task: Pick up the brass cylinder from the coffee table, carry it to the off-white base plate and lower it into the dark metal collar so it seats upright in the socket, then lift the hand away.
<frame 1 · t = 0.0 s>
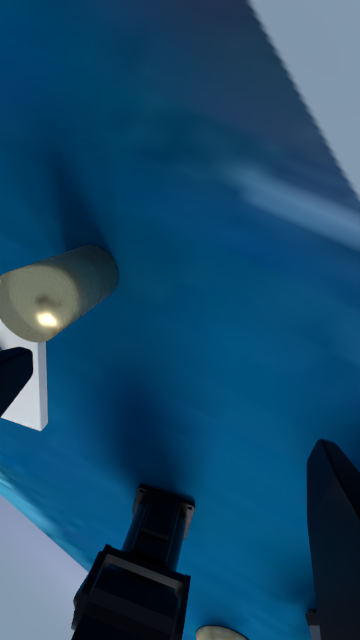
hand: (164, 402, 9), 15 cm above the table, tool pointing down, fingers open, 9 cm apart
brass cylinder: (93, 272, 25), on the table
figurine: (320, 628, 37), on the table
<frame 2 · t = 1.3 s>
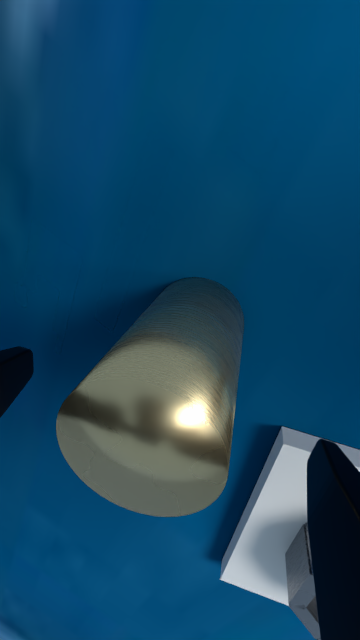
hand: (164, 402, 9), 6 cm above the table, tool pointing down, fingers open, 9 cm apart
socket base: (357, 541, 18), on the table
brass cylinder: (197, 322, 15), on the table
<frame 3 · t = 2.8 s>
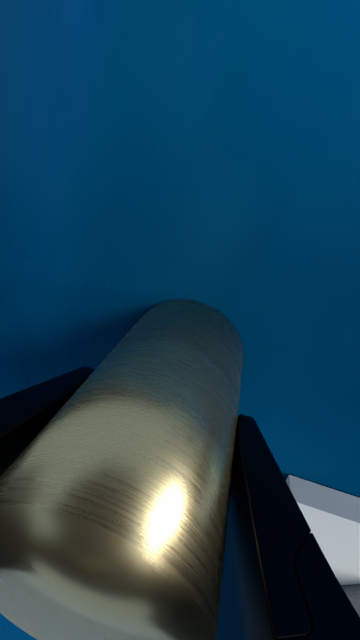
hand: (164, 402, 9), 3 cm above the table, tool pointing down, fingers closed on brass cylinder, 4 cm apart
brass cylinder: (185, 352, 12), on the table, touching gripper
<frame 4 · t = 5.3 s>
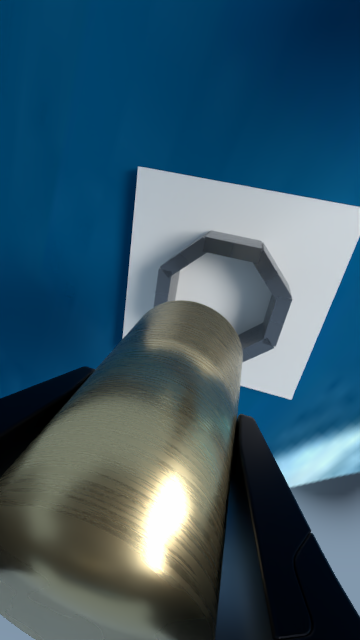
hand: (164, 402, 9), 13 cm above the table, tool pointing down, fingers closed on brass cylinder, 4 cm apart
socket base: (224, 288, 21), on the table
socket collar: (220, 300, 19), on the socket base, point 2 cm above the table
brass cylinder: (185, 353, 12), point 10 cm above the table, touching gripper
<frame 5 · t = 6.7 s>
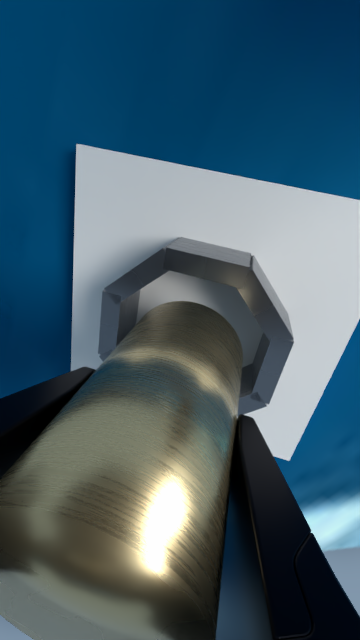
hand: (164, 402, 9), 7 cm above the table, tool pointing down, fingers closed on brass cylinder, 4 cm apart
socket base: (201, 314, 15), on the table
socket collar: (192, 335, 13), on the socket base, point 2 cm above the table
brass cylinder: (185, 353, 12), point 4 cm above the table, touching gripper
when the fingers open (5 cm above the table, at t = 7.9 s): brass cylinder drops 1 cm, resting on socket base.
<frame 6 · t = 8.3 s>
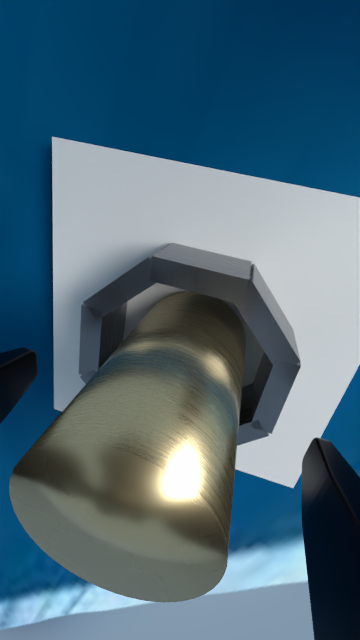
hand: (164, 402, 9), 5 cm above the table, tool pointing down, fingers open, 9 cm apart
socket base: (196, 327, 14), on the table
socket collar: (185, 353, 12), on the socket base, point 2 cm above the table
brass cylinder: (192, 340, 13), point 1 cm above the table, touching socket base
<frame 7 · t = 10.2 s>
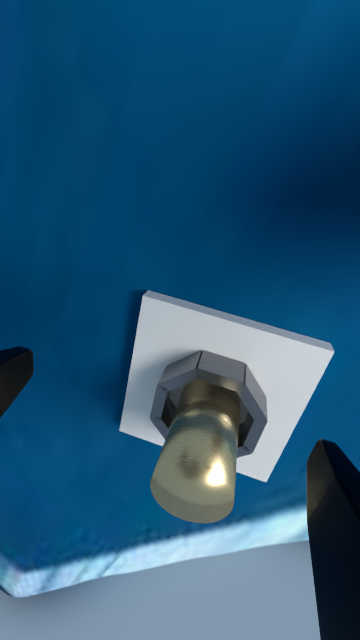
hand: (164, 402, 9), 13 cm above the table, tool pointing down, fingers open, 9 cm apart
socket base: (212, 388, 24), on the table
socket collar: (207, 407, 22), on the socket base, point 2 cm above the table
brass cylinder: (211, 398, 23), point 1 cm above the table, touching socket base
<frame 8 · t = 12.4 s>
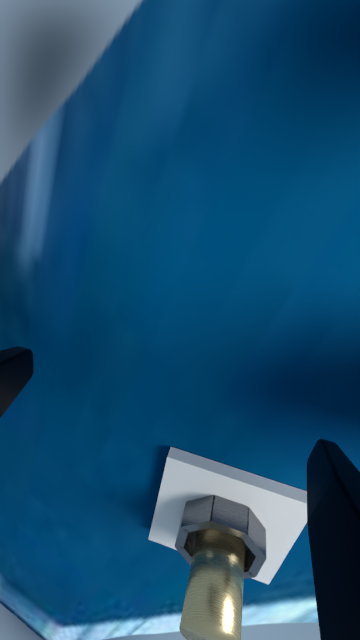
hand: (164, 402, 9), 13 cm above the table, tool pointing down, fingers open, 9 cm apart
socket base: (222, 513, 30), on the table
socket collar: (219, 538, 28), on the socket base, point 2 cm above the table
brass cylinder: (222, 525, 29), point 1 cm above the table, touching socket base
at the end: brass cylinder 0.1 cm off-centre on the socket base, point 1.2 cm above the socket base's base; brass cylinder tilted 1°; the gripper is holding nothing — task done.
